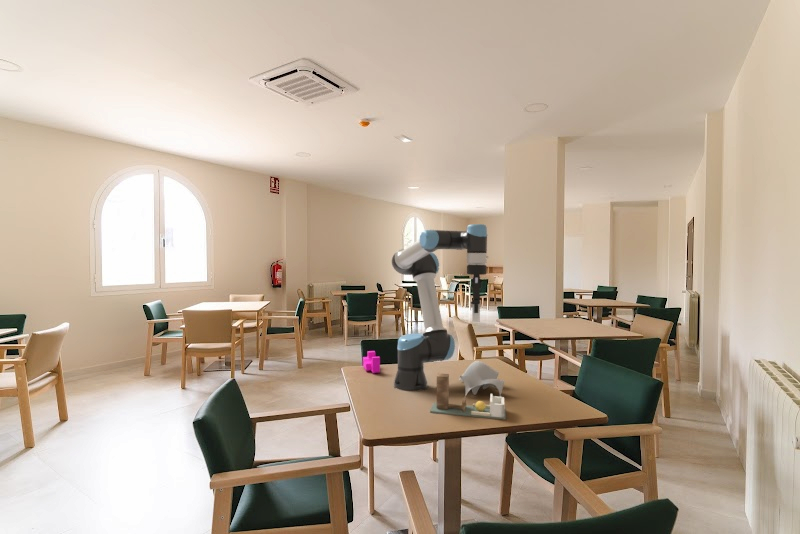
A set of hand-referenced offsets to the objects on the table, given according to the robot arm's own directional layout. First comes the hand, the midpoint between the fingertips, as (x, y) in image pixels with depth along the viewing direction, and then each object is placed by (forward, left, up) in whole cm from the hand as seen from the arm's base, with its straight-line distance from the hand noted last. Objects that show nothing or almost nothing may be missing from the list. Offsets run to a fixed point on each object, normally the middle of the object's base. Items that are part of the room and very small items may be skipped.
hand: (476, 318), depth 155 cm
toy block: (-56, +39, -34) cm, 76 cm away
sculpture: (+1, +20, -34) cm, 40 cm away
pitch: (-2, -8, -33) cm, 34 cm away
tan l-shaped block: (-12, -8, -33) cm, 36 cm away
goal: (+8, -8, -33) cm, 35 cm away
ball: (+2, -8, -31) cm, 32 cm away
